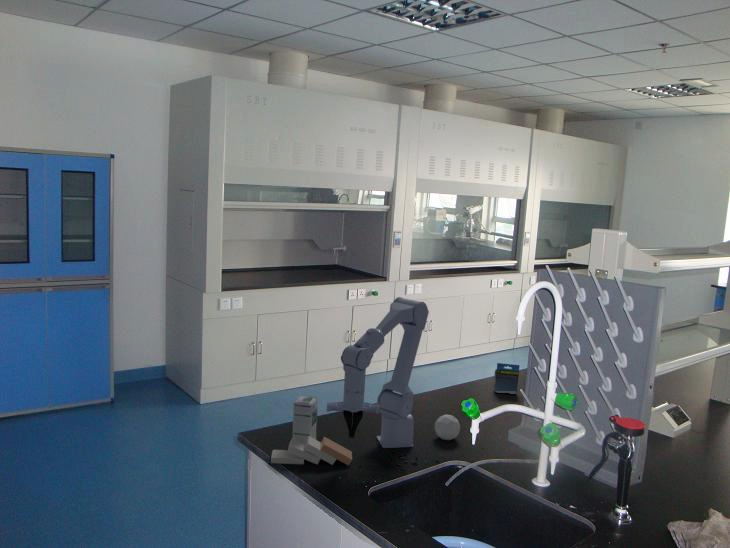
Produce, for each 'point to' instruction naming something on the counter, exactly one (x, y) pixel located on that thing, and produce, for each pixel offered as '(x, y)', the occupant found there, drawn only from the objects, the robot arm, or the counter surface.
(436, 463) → the counter surface
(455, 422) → the ball
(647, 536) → the counter surface
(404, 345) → the robot arm
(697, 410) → the counter surface
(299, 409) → the syrup box
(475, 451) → the counter surface
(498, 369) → the label tape box
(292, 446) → the tile
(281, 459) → the tile
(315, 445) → the tile
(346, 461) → the tile
